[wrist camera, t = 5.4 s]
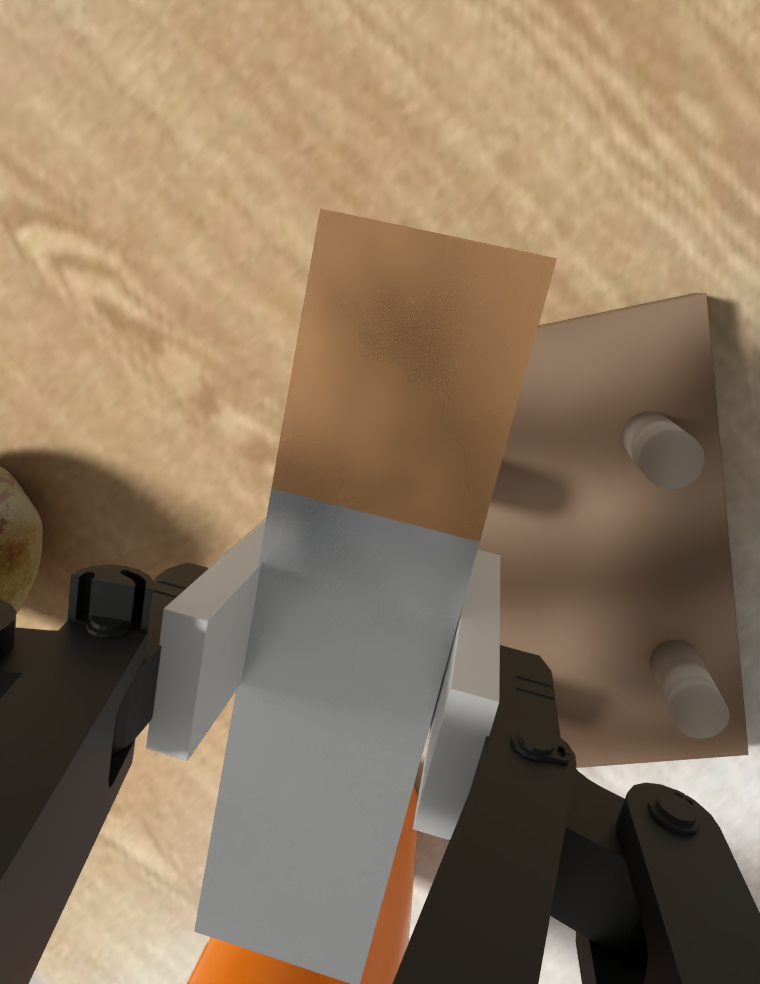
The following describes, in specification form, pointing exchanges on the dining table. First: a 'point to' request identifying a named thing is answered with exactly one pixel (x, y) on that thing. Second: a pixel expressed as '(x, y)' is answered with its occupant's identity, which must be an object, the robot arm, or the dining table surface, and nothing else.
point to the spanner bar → (362, 576)
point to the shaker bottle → (265, 980)
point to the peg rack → (623, 536)
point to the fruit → (17, 541)
